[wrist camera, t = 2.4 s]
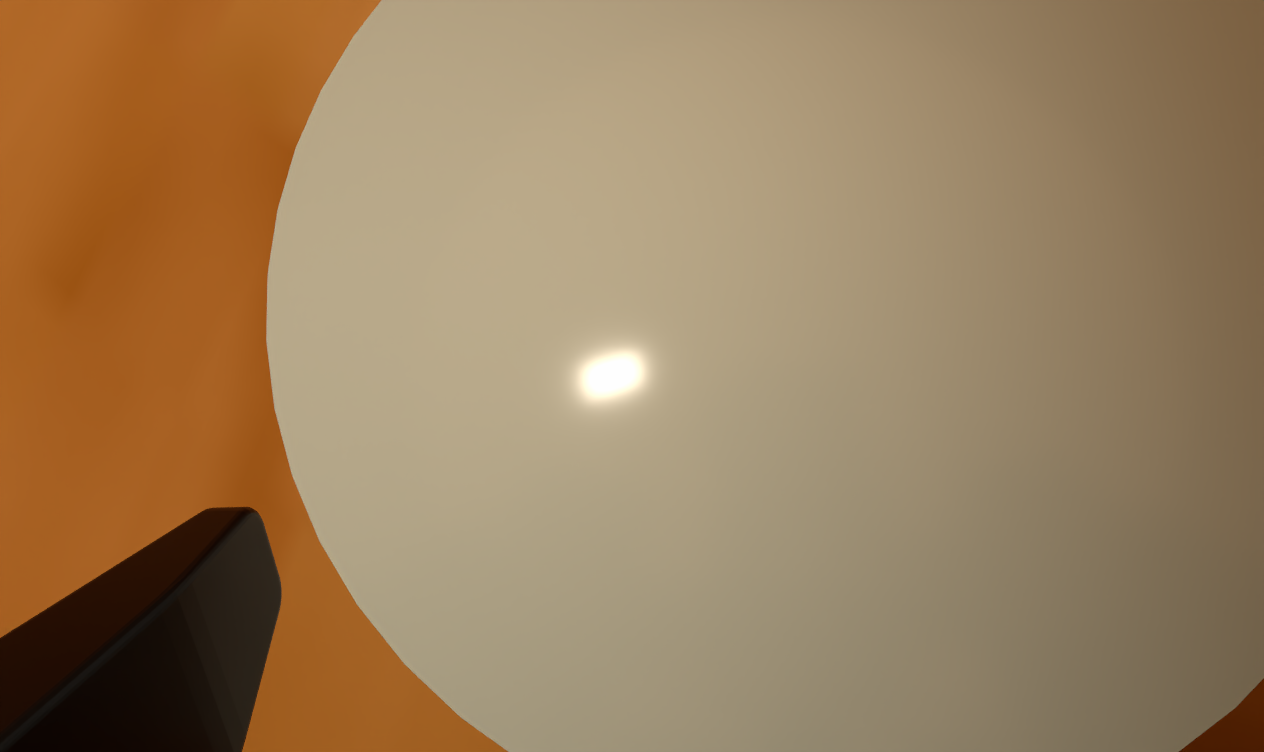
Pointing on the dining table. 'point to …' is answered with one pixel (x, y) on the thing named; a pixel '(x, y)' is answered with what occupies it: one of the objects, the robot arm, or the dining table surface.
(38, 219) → the dining table surface
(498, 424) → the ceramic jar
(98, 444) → the dining table surface
